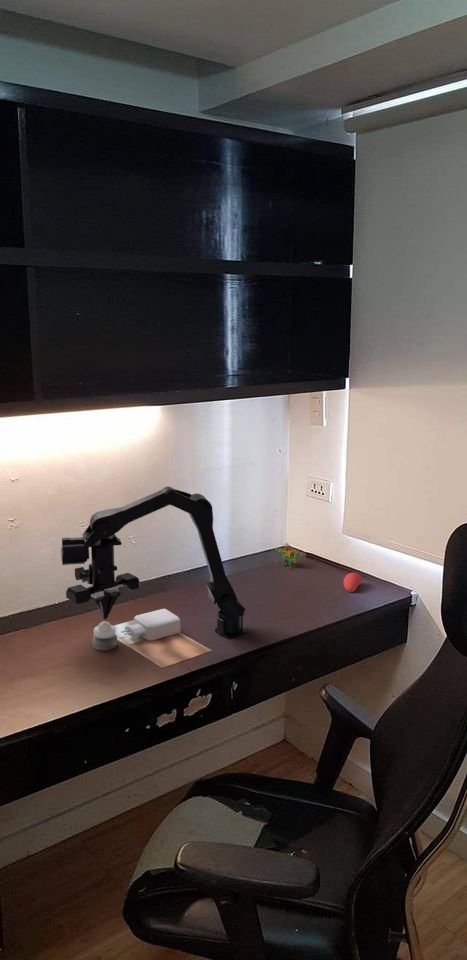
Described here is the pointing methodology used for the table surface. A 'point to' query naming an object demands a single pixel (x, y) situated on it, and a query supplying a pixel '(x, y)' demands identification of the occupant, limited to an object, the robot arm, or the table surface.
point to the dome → (104, 630)
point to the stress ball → (352, 581)
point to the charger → (154, 625)
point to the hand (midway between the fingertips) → (104, 618)
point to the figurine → (289, 556)
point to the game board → (154, 646)
